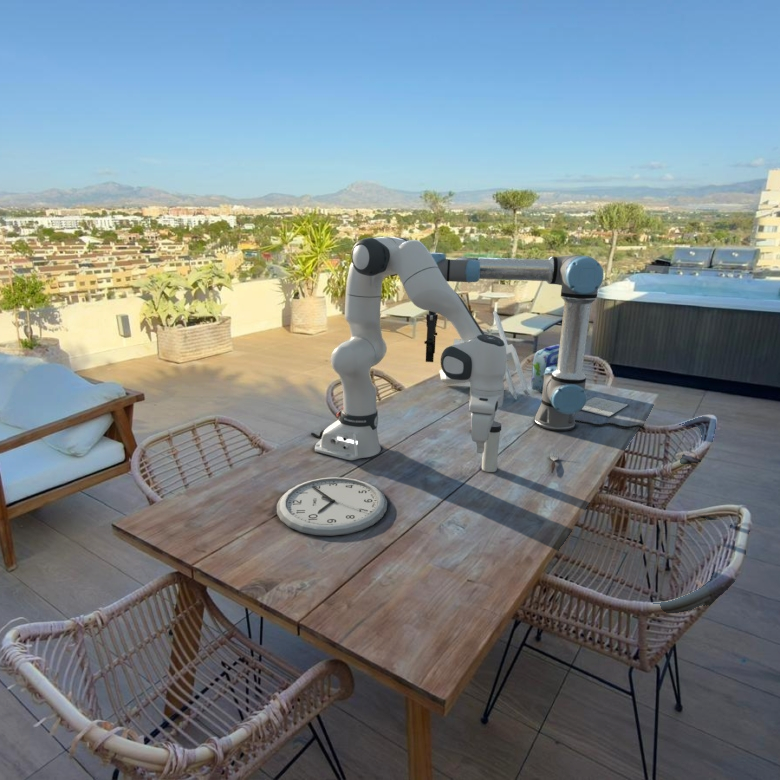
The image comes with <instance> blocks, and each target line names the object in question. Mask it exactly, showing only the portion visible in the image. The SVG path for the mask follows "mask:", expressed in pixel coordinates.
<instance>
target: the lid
mask: <svg viewBox="0 0 780 780" xmlns="http://www.w3.org/2000/svg"><path fill="white" fill-rule="evenodd" d="M501 431H502V423H501V422H499V421H495V420H494V421H493V424H492V427H491V429H490V432H500V433H501Z"/></svg>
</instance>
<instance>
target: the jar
mask: <svg viewBox="0 0 780 780" xmlns="http://www.w3.org/2000/svg"><path fill="white" fill-rule="evenodd" d="M500 434H501V431H500V432H489V438H488V440H486V442H485V444H484V445H485V446H484V452H483V453H482V456H481V457H482V458H481V471H484V472H486V473H496V472H497V470H498V461H499V459H498V458H499V447H500V436H501V435H500Z"/></svg>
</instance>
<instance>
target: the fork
mask: <svg viewBox="0 0 780 780" xmlns="http://www.w3.org/2000/svg"><path fill="white" fill-rule="evenodd" d="M559 454H560V449H556V451H555V452H553V451H551V452H550V456H549V457H550V460H552V462H551V466H550V468H551V469H550V470H551V474H553V473H554V469H555V467H556V463H555V461H558V460H559Z"/></svg>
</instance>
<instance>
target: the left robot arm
mask: <svg viewBox="0 0 780 780" xmlns="http://www.w3.org/2000/svg"><path fill="white" fill-rule="evenodd" d="M430 253H431V252H430V251H429V250H428V248H427V247H426V245H424V243H422V242H421V241H419V240H418V239H407V238H404V237H393V236H382V237H366V238H362V239H360V240H358V241H357V242H356V243H355V244H353V248H352V249H351V254H350V256H351V257H350V258H351V263H350V265H349V269H348V273H347V278H346V284H345V286H346V287H345V300H344V301H345V302H344V303H345V304H344V319H345V321H346V322H347V323H348V325H349V330H350V338H349V339H348V340H346V341H343V342H341V343H340V344H339V345H338V346H336V348H335V349H334V350H333V351H332V353H331V354H330V364H331V367H332V369H333V370H334V372H335V373H336V374H338V376H339V380H340V383H341V387H342V402H343V403H342V407H341V408H340V410H338V412H337V413H336V414H335V415H336V418H338V419H337V420H335V421H334V422H332V423H331V424H330V425H328V426H327V427H326V428H325V429H322V430H321V431H320V432H319V434H317V433H315V432H311V433H310V435H311V436H312V437H315V438H317V439H319V440H317V442H316V444H315V445H314V452H316V453H320V454H322V455H323V454H324V455H328V456H331V457H335V458H339V459H342V460H346V461H355V460H359V459H366V458H371V457H374V456H377V455H378V454H379V453H380V452H381V451H382V448H381V447H382V446H381V445H380V440H379V434H378V424H379V414H378V413H379V412H378V409H377V402H378V401H377V394H378V393H377V386H376V385H375V384H374V383H373V380H372V376H371V369H372V368H373V367H375V366H376V365H378V364H380V362H381V361H382V360H383V359H384V357H385V356H386V354H387V349H388V347H387V343H386V341H385V340H384V338H383V336H382V327H381V304H382V303H381V302H382V289H383V281H384V279H385V278H386V277H388V276H391V277H396V276H397V277H398V278H399V280H400V282H401V285H402V287H403V289H404V291H405V294H406V295H407V297H408V299H409V300H410V301H411V303H412V304H413V305H414V306H415V307H417V308H419V309H421V310H423V311H426V312H429V311H432V312H435V313H436V314H438V315H441V316H442V317H444V318H446V319H447V320H448V321H449V322H450V323H451V325H452V327H453V329H455V331H456V332H457V334H458V336H459V338H460V339H462V340H463V342H464V343H459V344H455V345H453V344H452V345H450V346H447V347H446V348H444V350H443V351H442V353H441V356H440V368H441V369H442V370H443V372H444V374H445V375H446V376H447V377H449V378H450V379H454V380H469V381H470V382H469V397H468V398H469V402H468V403H469V406H468V412H471V414H470V435H471V436H470V437H471V440H472V442H474V443H475V444H476V453H477V454H483V452H484V446H485V445H484V444H485V442H486V440H488V438H489V432H490V429H491V427H492V424H493V421H495V419H496V412H497V411H498V409H499V408H501V407H502V406H503V405H504V396H505V382H504V377H505V372H506V347H505V343H504V341H503V340H501V338H500V337H499V336H495V335H494V334H493V335H492V334H486V333H485V332H484V331H483V330H482V328H481V326H480V325H479V323H478V322H477V320H476V319H475V317H474V315H473V314H472V312H471V311H470V309H469V308H468V306H467V304H466V303H465V301H464V300H463V298H462V297H461V296H460V295H459V294H458V293H457V292H456V291H455V290H454V289H453V288H452V286H451V285H450V284H449V282H447V281H446V280H445V278H444V277H443V275H442V273H441V271H440V270H439V268H438V266H437V264H436V262H435V260H434V259H433V257H432V255H431V254H430Z"/></svg>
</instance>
